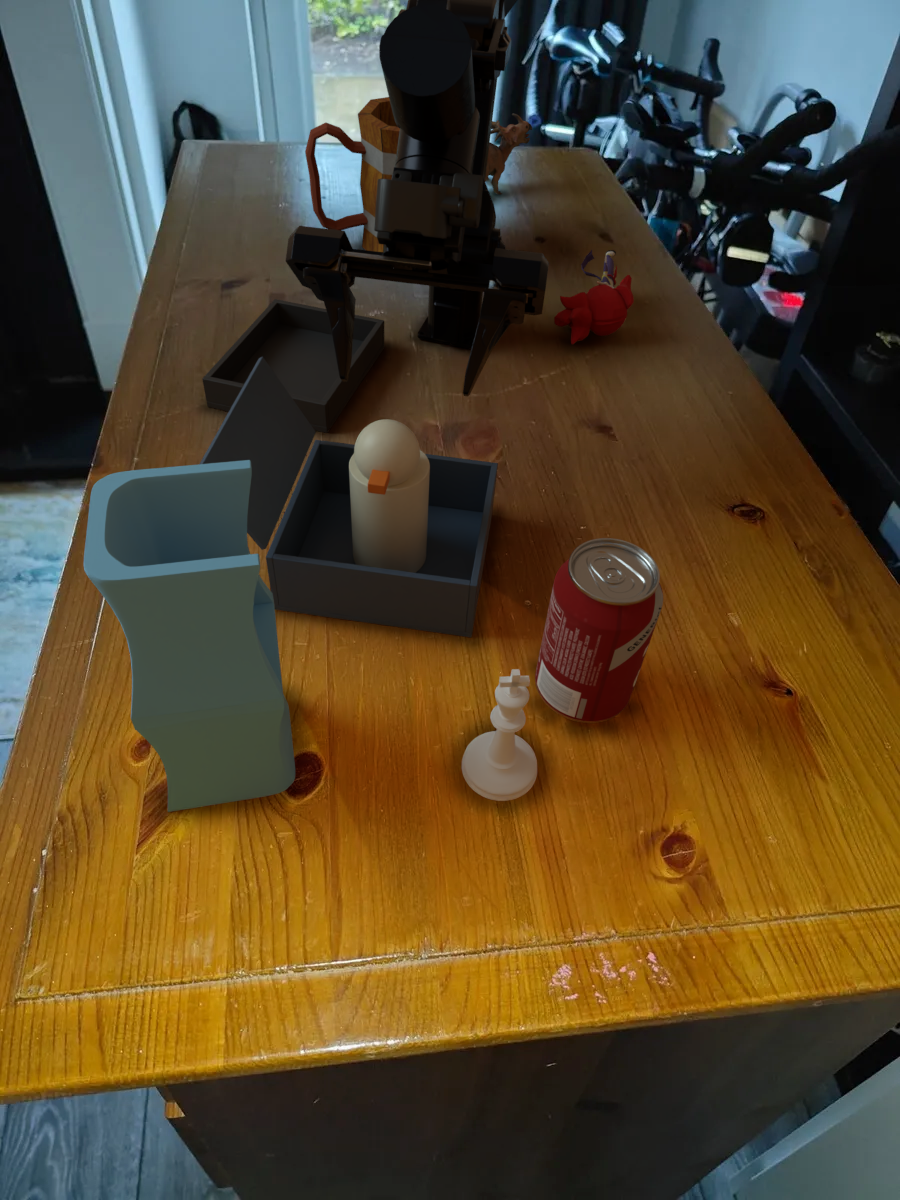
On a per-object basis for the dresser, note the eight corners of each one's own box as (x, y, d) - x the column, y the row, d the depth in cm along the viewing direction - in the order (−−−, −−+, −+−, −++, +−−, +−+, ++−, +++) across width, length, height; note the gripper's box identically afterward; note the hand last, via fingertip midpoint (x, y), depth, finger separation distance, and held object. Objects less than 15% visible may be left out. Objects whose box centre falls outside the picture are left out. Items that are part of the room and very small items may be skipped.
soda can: (567, 743, 56) (599, 624, 48) (515, 670, 60) (537, 549, 51) (648, 707, 59) (693, 588, 50) (593, 640, 63) (627, 519, 54)
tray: (277, 325, 91) (274, 298, 89) (384, 347, 89) (384, 320, 87) (207, 406, 80) (201, 378, 78) (327, 433, 78) (325, 405, 76)
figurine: (638, 288, 99) (632, 355, 89) (567, 293, 101) (553, 359, 91) (638, 234, 95) (631, 298, 85) (563, 240, 97) (548, 303, 87)
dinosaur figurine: (494, 172, 123) (500, 102, 117) (526, 184, 121) (534, 113, 114) (432, 198, 116) (434, 124, 109) (464, 211, 114) (468, 137, 107)
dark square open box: (471, 637, 62) (477, 586, 58) (273, 609, 63) (265, 557, 59) (492, 514, 72) (498, 462, 68) (319, 491, 73) (315, 439, 69)
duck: (361, 525, 69) (356, 390, 60) (431, 535, 69) (437, 400, 59) (340, 590, 64) (331, 453, 55) (415, 601, 64) (420, 465, 54)
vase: (297, 791, 53) (261, 565, 38) (167, 812, 51) (78, 585, 37) (287, 691, 58) (252, 458, 43) (168, 708, 57) (91, 472, 42)
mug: (458, 220, 111) (465, 93, 100) (478, 268, 102) (489, 134, 92) (308, 224, 108) (298, 94, 97) (316, 274, 99) (306, 136, 88)
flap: (199, 469, 54) (194, 471, 54) (266, 548, 59) (261, 550, 59) (262, 356, 64) (258, 358, 64) (316, 432, 68) (312, 433, 68)
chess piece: (458, 737, 56) (468, 640, 49) (531, 734, 57) (551, 637, 49) (465, 803, 53) (477, 709, 46) (542, 799, 53) (566, 706, 46)
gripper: (279, 100, 55) (248, 342, 55) (567, 130, 53) (533, 377, 54) (317, 182, 66) (291, 382, 66) (556, 208, 64) (528, 411, 65)
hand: (404, 387), depth 62 cm, fingers open, 9 cm apart
